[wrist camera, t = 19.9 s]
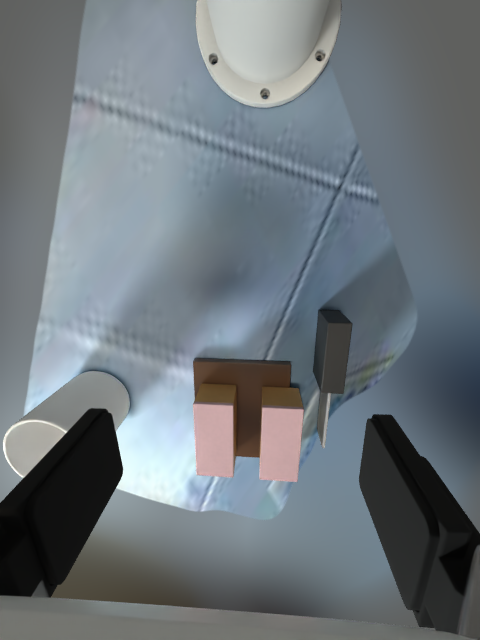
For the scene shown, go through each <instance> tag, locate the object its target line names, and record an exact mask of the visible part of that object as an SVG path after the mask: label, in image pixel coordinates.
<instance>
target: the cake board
mask: <svg viewBox="0 0 480 640" xmlns="http://www.w3.org/2000/svg"><path fill="white" fill-rule="evenodd" d="M193 368H194V390H195V398H196V396H197V393H198V391H199V388H200V385H201V384H223V385H237V423H236V456H242V457H259V458H260V432H261V406H262V387H283V388H290V375H291V362H288V361H260V360H232V359H204V358H195V359H194V361H193Z"/></svg>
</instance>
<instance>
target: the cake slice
mask: <svg viewBox="0 0 480 640" xmlns="http://www.w3.org/2000/svg"><path fill="white" fill-rule="evenodd" d="M303 414H304V408H303V404H302V400H301V396H300V392H299V388H283V387H262V406H261V432H260V479H261V480H276V481H291V482H297V481H298V470H299V459H300V448H301V437H302V425H303Z"/></svg>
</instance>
